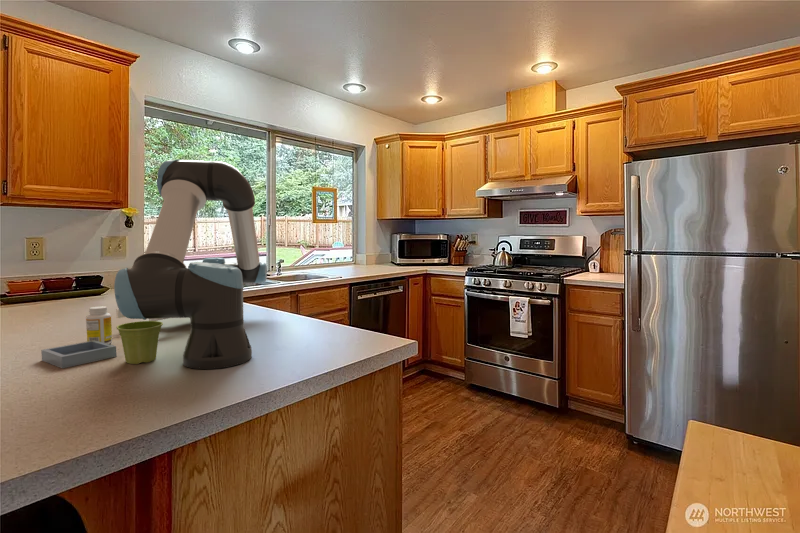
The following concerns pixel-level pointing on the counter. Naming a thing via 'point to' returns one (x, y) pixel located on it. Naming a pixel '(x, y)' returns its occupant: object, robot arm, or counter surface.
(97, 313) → the supplement bottle
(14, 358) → the counter surface
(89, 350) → the dish
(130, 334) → the plant pot
